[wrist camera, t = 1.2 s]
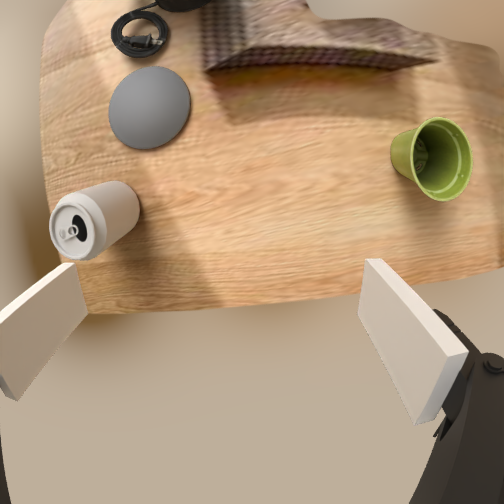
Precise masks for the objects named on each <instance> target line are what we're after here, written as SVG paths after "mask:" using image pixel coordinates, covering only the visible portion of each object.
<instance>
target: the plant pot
mask: <svg viewBox="0 0 504 504" xmlns="http://www.w3.org/2000/svg"><path fill="white" fill-rule="evenodd" d="M416 140H418V141H419V142H420V143H421V145H422V147H420V145H419V143H418V142H417V141H416ZM391 161H392V164H393V166H394V167H395V169H396V170H397V171H398V172H399V173H400V174H402V175H403V176H405V177H407V178H408V179H410V180H412V181H413V182H415V183H417V185H418V187H419V188H420V189H421V190H422V192H423V193H424V194H426V195H427V196H428V197H430V198H432V199H434V200H437V201H444V202H445V201H450V200H453V199H455V198H456V197H458V196H459V195H460V194H461V193H462V192H463V191H464V189H465V188H466V186H467V185H468V182H469V180H470V177H471V173H472V168H473V155H472V149H471V146H470V143H469V140H468V138H467V136H466V134H465V133H464V131H463V130H462V129H461V128H460V127H459V126H458V125H457V124H456V123H455V122H453V121H451V120H450V119H447V118H443V117H434V118H431V119H428V120H426V121H425V122H423V123H422V124H421V125H420V126H419V127H418V128H416V129H413V130H410V131H407V132H404V133H401V134H399V135H398V136H397V137H396V138H395V139H394V140H393V142H392V145H391ZM421 163H422V166H421V168H420V169H419V170H416V168H417V167H418V166H419V165H420V164H421Z"/></svg>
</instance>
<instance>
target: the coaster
mask: <svg viewBox="0 0 504 504" xmlns="http://www.w3.org/2000/svg"><path fill="white" fill-rule="evenodd" d="M189 111H190V95H189V91H188V88H187V86H186V84H185V82H184V81H183V80H182V79H181V78H180V77H179V76H178V75H177V74H176V73H175V72H173V71H171V70H169V69H167V68H164V67H159V66H151V67H145V68H141V69H139V70H136V71H134V72H132V73H131V74H129V75H128V76H127V77H126V78H124V79H123V80H122V81H121V82H120V84H119V85H118V86H117V88H116V89H115V91H114V93H113V95H112V97H111V100H110V105H109V122H110V126H111V128H112V130H113V132H114V134H115V135H116V137H117V138H118V139H119V140H120V141H121V142H123V143H124V144H126V145H128V146H130V147H133V148H137V149H150V148H155V147H159V146H161V145H163V144H165V143H167V142H169V141H170V140H171V139H173V138H174V137H175V136H176V135H177V134H178V133H179V132H180V130H181V129H182V128H183V126H184V124H185V122H186V120H187V118H188V115H189Z"/></svg>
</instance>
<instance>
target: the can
mask: <svg viewBox="0 0 504 504" xmlns="http://www.w3.org/2000/svg"><path fill="white" fill-rule="evenodd" d="M139 213H140V208H139V201H138V199H137V196H136V194H135V192H134V191H133V190H132V189H131V187H130V186H128V185H126V184H125V183H123V182H120V181H108V182H105V183H101V184H98V185H95V186H92V187H88V188H85V189H82V190H79V191H76V192H73V193H70V194H68V195H66V196H64V197H63V198H61V200H60V201H59V202H58V204H57V205H56V208H55V209H54V210H53V212H52V214H51V217H50V224H49V230H50V234H51V239H52V241H53V243H54V245H55V247H56V248H57V249H58V251H59V252H60V253H61V254H62V255H64V256H65V257H66V258H69V259H72V260H90V259H93V258H95V257H97V256H98V255H99V254H100V253H102V252H103V251H104V250H106V249H107V248H108V247H110V246H111V245H112V244H113V243H115V242H116V241H117V240H119V239H120V238H121V237H123V236H124V235H125V234H127V233H128V232H129V231H131V230H132V229H133V228H134V227H135V225H136V223H137V221H138V219H139Z"/></svg>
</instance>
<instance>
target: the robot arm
mask: <svg viewBox="0 0 504 504" xmlns="http://www.w3.org/2000/svg"><path fill="white" fill-rule="evenodd" d="M87 314H88V311H87V307H86V304H85V300H84V297H83V293H82V289H81V285H80V281H79V277H78V273H77V269H76V265H75V263H63V264H61V265H60V266H58V267H57V268H56V269H54V270H53V271H51V272H50V273H49V274H47V275H46V276H45V277H43V278H42V279H41V280H40V281H38V282H37V283H35V284H34V285H33V286H31V288H29V289H28V290H26V291H25V292H24V293H22V294H21V295H20V296H19V297H17V298H16V299H15V300H14V301H12V302H11V303H10V304H9V305H8V306H6V307H5V308H4V309H3V310H2V311H0V388H1V389H2V391H3V392H4V394H5V396H7V397H9V398H11V399H13V400H15V401H18V400H19V399H20V398H21V396H22V395H23V393H24V392H25V391H26V389H27V388H28V387H29V385H30V384H31V383H32V381H33V380H34V379H35V377H36V376H37V375H38V374H39V372H40V371H41V370H42V368H43V367H44V366H45V365H46V363H47V362H48V361H49V360H50V358H51V357H52V356H53V354H54V353H55V352H56V351H57V350H58V348H59V347H60V346H61V345H62V343H63V342H64V341H65V340H66V339H67V338H68V336H69V335H70V334H71V333H72V332H73V330H74V329H75V328H76V327H77V326H78V324H79V323H80V322H81V321H82V320H83V319H84V318H85V316H86V315H87ZM357 315H358V317H359V319H360V321H361V323H362V324H363V326H364V328H365V330H366V332H367V333H368V335H369V337H370V339H371V341H372V342H373V345H374V346H375V348H376V350H377V352H378V354H379V356H380V358H381V360H382V362H383V363H384V365H385V368H386V370H387V371H388V373H389V375H390V377H391V379H392V381H393V383H394V385H395V387H396V389H397V391H398V393H399V395H400V398H401V399H402V402H403V404H404V406H405V408H406V410H407V412H408V414H409V416H410V418H411V420H412V423H413V425H414V426H415V425H418V424H422V423H425V422H429V421H432V420H434V419H435V417H436V416H437V414H438V412H439V410H440V409H441V407H442V408H443V410H444V412H445V414H446V416H445V418H444V420H443V421H442V423H441V424H440V426H439V427H438V429H437V430H436V432H435V434H434V435H433V437H436V436H437V434H438V436H437V439H436V442H435V444H434V448H433V450H432V453H431V455H430V458H429V461H428V463H427V465H426V468H425V470H424V472H423V475H422V477H421V479H420V482H419V484H418V486H417V488H416V490H415V492H414V494H413V496H412V498H411V500H410V502H409V504H504V358H502V357H501V356H499V355H496V354H494V353H483V354H481V353H480V351H479V350H478V349H477V348H476V347H475V346H474V345H473V343H472V342H470V340H469V339H468V338H467V337H466V336H465V335H464V333H463V332H461V330H460V329H459V328H458V327H457V326H455V325H454V323H453V322H452V321H451V319H449V317H448V316H447V315H445V314H443V313H441V312H440V311H438V310H436V309H434V310H432V309H431V308H430V307H429V306H428V305H427V304H426V303H425V302H424V301H423V300H422V299H421V298H420V297H419V296H418V295H417V294H416V292H414V290H413V289H412V288H411V287H410V286H409V285H408V284H407V283H406V282H405V281H404V280H403V279H402V278H401V277H400V276H399V275H398V274H397V273H396V272H395V271H394V270H393V269H392V268H391V267H390V266H389V265H388V264H386V263H385V262H384V261H383V260H382V259H381V258H377V259H365V265H364V273H363V280H362V287H361V294H360V301H359V308H358V313H357ZM0 504H11V501H10V496H9V492H8V487H7V482H6V477H5V470H4V464H3V456H2V447H1V437H0Z"/></svg>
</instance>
